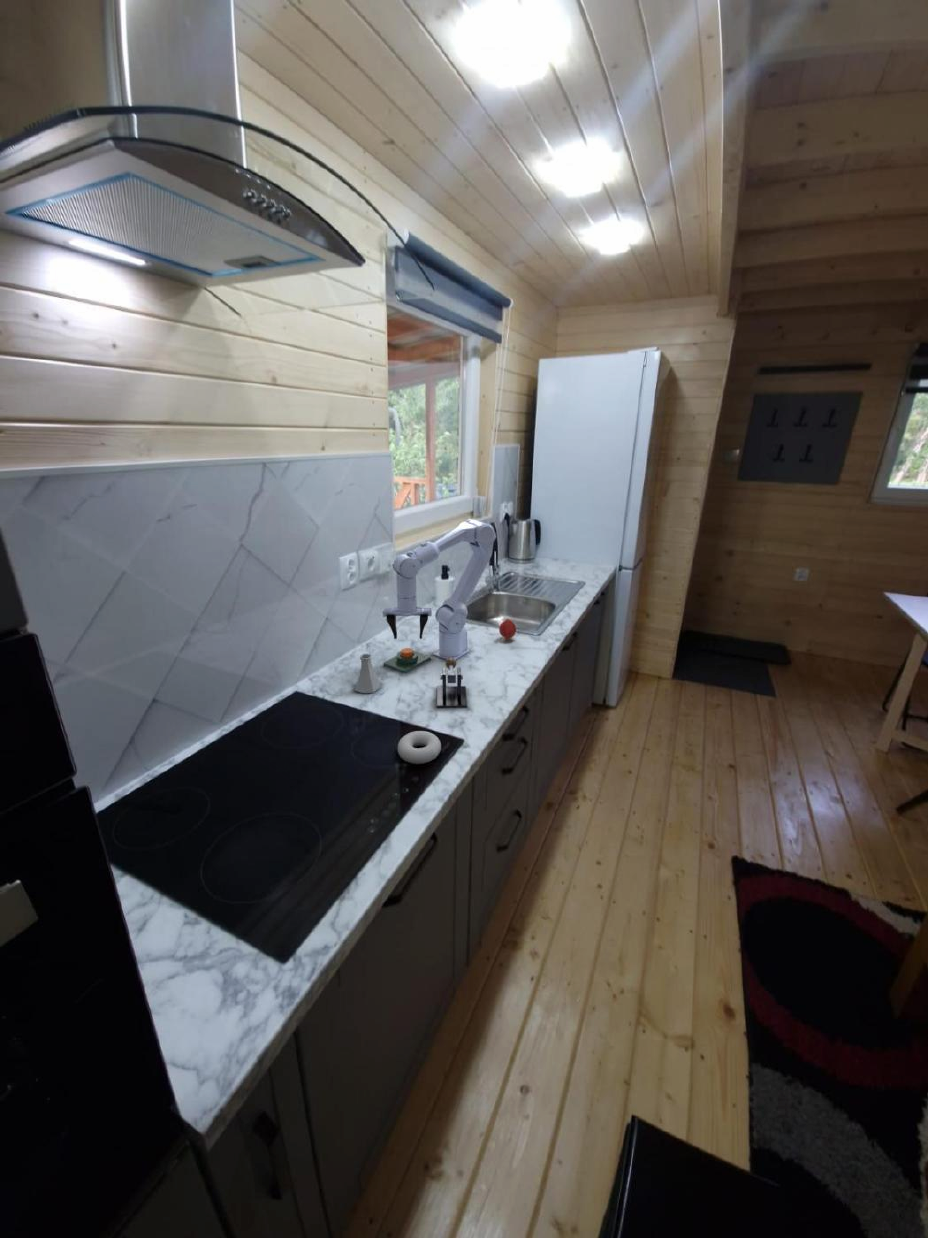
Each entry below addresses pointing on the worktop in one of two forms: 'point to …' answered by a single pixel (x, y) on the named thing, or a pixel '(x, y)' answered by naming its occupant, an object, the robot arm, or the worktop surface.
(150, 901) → the worktop surface
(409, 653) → the button
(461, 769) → the worktop surface
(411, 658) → the control block
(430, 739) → the donut
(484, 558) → the robot arm
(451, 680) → the lever
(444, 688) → the bracket
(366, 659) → the flask
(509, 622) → the onion
